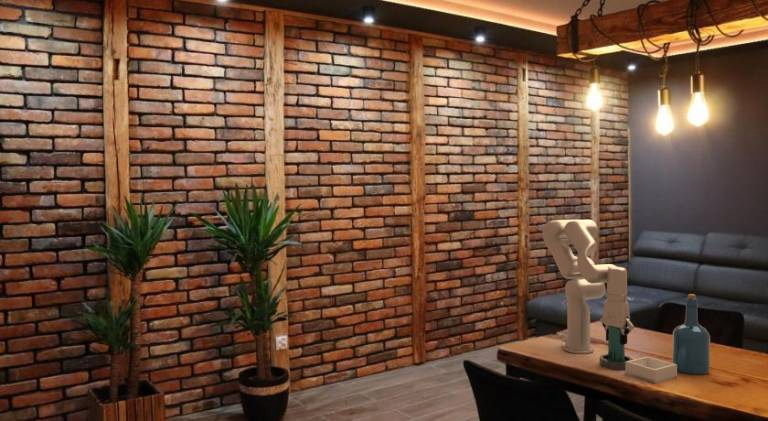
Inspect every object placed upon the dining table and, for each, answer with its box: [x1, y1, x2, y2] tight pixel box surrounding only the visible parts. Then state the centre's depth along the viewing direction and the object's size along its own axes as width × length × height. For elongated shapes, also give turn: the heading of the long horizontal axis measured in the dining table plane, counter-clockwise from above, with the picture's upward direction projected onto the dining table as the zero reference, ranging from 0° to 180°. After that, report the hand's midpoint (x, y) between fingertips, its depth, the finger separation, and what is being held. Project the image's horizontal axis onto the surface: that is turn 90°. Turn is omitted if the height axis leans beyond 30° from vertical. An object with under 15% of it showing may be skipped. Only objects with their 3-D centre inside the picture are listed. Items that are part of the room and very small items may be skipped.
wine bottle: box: [671, 293, 711, 376], centre depth 252 cm, size 14×13×30 cm
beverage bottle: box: [607, 326, 626, 362], centre depth 260 cm, size 6×7×20 cm
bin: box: [624, 355, 678, 384], centre depth 246 cm, size 13×13×5 cm
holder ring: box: [598, 353, 634, 371], centre depth 260 cm, size 12×12×3 cm
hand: (616, 341), depth 260 cm, fingers closed on beverage bottle, 6 cm apart
